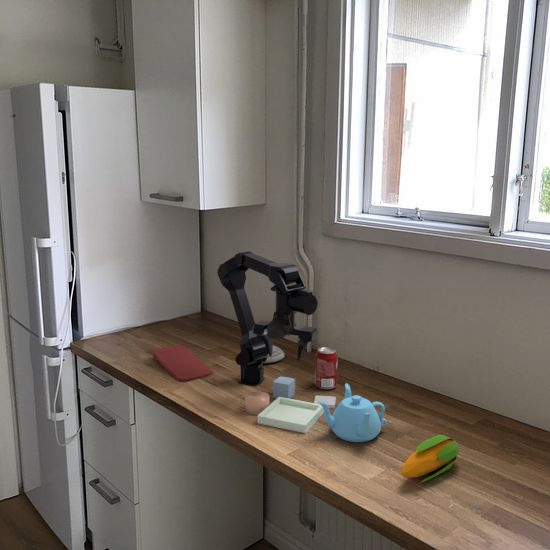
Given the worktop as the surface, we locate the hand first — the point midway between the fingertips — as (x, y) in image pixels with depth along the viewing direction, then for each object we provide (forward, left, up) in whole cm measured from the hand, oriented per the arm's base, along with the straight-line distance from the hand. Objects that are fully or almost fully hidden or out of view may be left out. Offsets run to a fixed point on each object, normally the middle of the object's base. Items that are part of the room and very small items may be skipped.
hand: (284, 358), depth 185 cm
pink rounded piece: (-3, -12, -12) cm, 17 cm away
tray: (+8, -13, -12) cm, 19 cm away
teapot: (+26, -15, -12) cm, 32 cm away
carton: (-41, +7, -12) cm, 44 cm away
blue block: (0, 0, -12) cm, 12 cm away
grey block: (+13, 0, -12) cm, 18 cm away
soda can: (+9, +12, -12) cm, 19 cm away
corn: (+48, -26, -12) cm, 56 cm away
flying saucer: (-20, +27, -12) cm, 36 cm away
